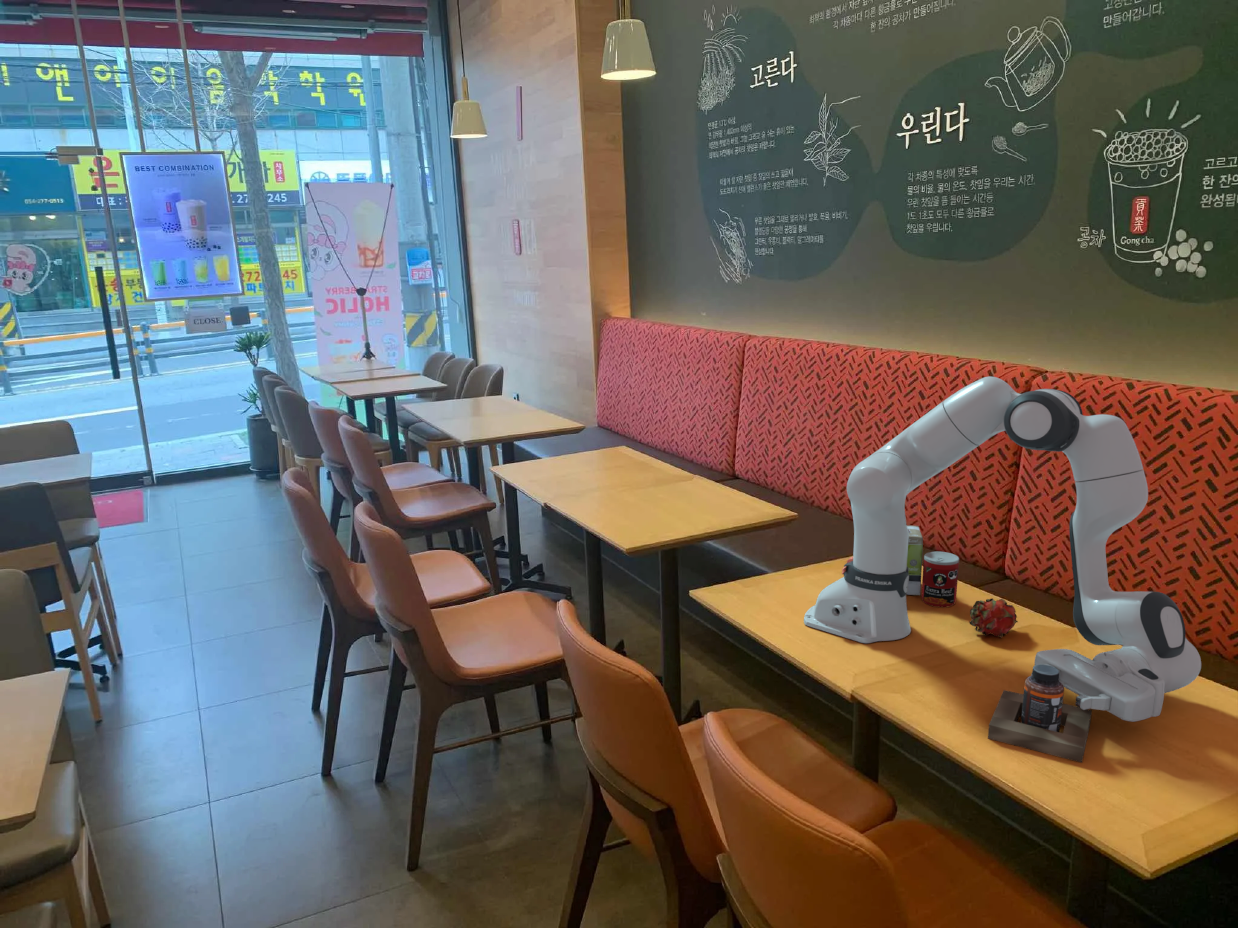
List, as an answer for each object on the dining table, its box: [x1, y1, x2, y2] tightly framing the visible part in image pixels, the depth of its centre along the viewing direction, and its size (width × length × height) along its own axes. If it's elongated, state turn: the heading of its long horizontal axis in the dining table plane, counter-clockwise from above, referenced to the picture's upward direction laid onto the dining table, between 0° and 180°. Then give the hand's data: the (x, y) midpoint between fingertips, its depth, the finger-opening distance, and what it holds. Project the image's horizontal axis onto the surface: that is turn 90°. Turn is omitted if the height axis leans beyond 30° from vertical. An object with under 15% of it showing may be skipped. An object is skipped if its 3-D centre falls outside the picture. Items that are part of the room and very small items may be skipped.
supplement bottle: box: [1020, 664, 1065, 732], centre depth 146 cm, size 6×6×11 cm
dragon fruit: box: [968, 597, 1019, 639], centre depth 185 cm, size 8×8×12 cm
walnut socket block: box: [987, 689, 1093, 764], centre depth 147 cm, size 14×14×2 cm
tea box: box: [906, 525, 924, 596], centre depth 211 cm, size 15×10×15 cm
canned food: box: [920, 550, 960, 608], centre depth 202 cm, size 8×8×11 cm
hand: (1056, 690), depth 147 cm, fingers open, 8 cm apart
